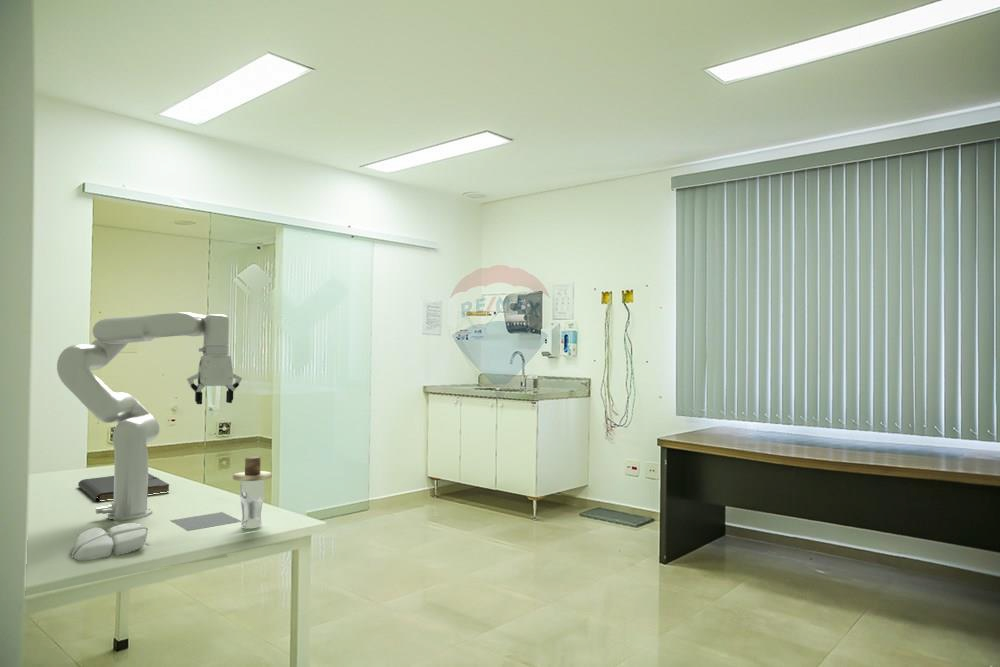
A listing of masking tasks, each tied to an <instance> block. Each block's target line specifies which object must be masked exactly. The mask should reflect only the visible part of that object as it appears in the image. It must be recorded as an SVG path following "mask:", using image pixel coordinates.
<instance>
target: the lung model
mask: <svg viewBox="0 0 1000 667" xmlns="http://www.w3.org/2000/svg"><path fill="white" fill-rule="evenodd" d="M148 530H149V529H148V527H146V526H145V525H143V524H140V523H134V522H129V523H122V524H118V525H115V526H112V527H111V528H110V529H109V532H107V531H105V530H104V528H101V527H100V526H99V527H98V526H95V527H93V528H89V529H86V530H84V531H83V532H82V533H80V534H79V535H77V538H76V540H75V543H74V546H73V548H72V553H71V556H73V557H72V558H74V559H75V560H76V559H77V561H81V560H83V561H90V560H91V561H92V560H98V559H103V557H104V558H109V557H110V556H111V555H112V553H114V555H116V554H120V555H123V554H122V553H125V554H128V553H127V552H130V553H133V552H135V551H137V550H139V549H140V548H142V547H143V546H144V545H145V544H146V542H147V538H148V534H149V533H148ZM132 551H133V552H132ZM108 556H109V557H108Z"/></svg>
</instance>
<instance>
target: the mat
mask: <svg viewBox="0 0 1000 667" xmlns="http://www.w3.org/2000/svg"><path fill="white" fill-rule="evenodd" d="M170 522H172V523H174V524H175V525H176V526H179V527H180V528H182V529H184V530H186V531H187V532H191V531H196V530H201V529H207V528H212V527H218V526H224V525H229V524H230V525H231V524H236V523H242V520H239V519H238V518H235V517H233V516H232V515H229V514H227V513H225V512H224V511H223V512H222V511H221V512H215V513H207V514H201V515H196V516H191V517H189V516H188V517H183V518H178V519H177V518H175V519H171V520H170Z"/></svg>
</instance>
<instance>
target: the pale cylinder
mask: <svg viewBox="0 0 1000 667" xmlns="http://www.w3.org/2000/svg"><path fill="white" fill-rule="evenodd" d="M239 488H240V489H239V499H240V506H241V511H242V512H241V515H242V518H241V521H242V522H240V523H241V524H240V528H241V529H256V528H257V529H258V528H261V527H262V526H263V522H262V521H263V520H262V510H263V509H262V508H263V504H264V498H265V480H258V481H240V487H239Z"/></svg>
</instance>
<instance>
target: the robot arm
mask: <svg viewBox="0 0 1000 667" xmlns="http://www.w3.org/2000/svg"><path fill="white" fill-rule="evenodd" d="M229 321H230V319H229V316H228V315H225V314H220V313H219V314H217V313H215V314H212V313H211V314H207V315H205V314H204V315H203V314H198V313H193V312H186V311H184V312H182V311H181V312H169V313H159V314H158V313H157V314H145V315H135V316H134V315H131V316H120V317H119V316H118V317H109V318H103V319H100V320H98V321H97V322H95V324H94V325H93V328H92V336H93V337H94V339H95V340H93V341H92V342H91V343H90V344H87V343H86V344H84V343H83V344H81V343H79V344H72V345H70V346H68V347H66V348H64V349H63V350H62V351H61V352H60V354H59V356H58V358H57V363H56V370H57V371H56V372H57V375H58V377H59V379H60V381H61V382H62V383H63V385H64V386H65V387H66V388H67V389H68V390H69V391H70V392H71V393H72V394H73V395H74V396H75V397H76V398H77V399H78V400H79V401H80V402H81V404H83V405H84V407H86V409H87V410H89V412H91V414H92V415H93V416H94V417H95V418H96V419H97V420H99V421H100V422H101V423H115V422H116V423H117V424H116V426H115V428H114V429H113V433H112V443H113V444H112V445H113V449H114V450H113V452H114V453H113V454H114V466H113V467H114V474H113V476H114V500H113V502H111V501H110V504H108V505H107V506H100V507H99V506H98V507H96V508H95V513H96V514H95V515H99V514H103V515H104V514H105V515H106V514H107V515H106V516H107V517H108V518H109V519H108V518H107V519H108V520H110V519H113V520H112V521H125V520H126V521H128V520H127V519H129V520H136V519H141V518H146V517H148V516H151V515H152V514H153V509H151V508H149V507H148V496H147V495H148V473H149V451H148V446H147V445H148V443H151V442H153V441H154V440H155V439H156V438H157V437H158V436H159V433H160V424H159V421H158V420H157V419H156V418H155V416H154V415H152V413H150V411H149V410H148V409H147V408H146V407H145V406H144V405H142V403H141V402H140V401H138V399H137V398H136V397H134V396H133V395H131V394H129V393H127V392H123V391H122V392H121V391H119V392H115V391H113V390H112V389H111V388H110V387H109V386H108V385H107V384H106V383H105V382H104V381H103V380H102V379H101V378H100V377H98V376H97V375H96V374H94V373H93V372H92V371H96V370H100V369H102V368H104V367H106V366H107V365H108V364H109V363H110V362H111V361H112V360H113V359H114V358H115V357H116V356H117V355H118V354H119V353H120V352H121V351H122V350H123V349H124V348H126V346H127V345H128V344H130V343H142V342H143V343H144V342H151V341H152V340H155V339H158V338H169V337H183V336H184V337H185V336H187V337H202V336H203V343H202V344H203V346H202V347H199V348H198V352H199V353H202V355H200V359H199V364H198V370H197V373H195V374H193V375H192V376H189V377H187V378H186V381H187V383H188V385H189V387H190V388H191V389H192V390H193V391H194V394H195V395H194V401H195V402H196V404H197V405H203V391H202V390H203V389H204V388H205V387H221V386H223V387H225V388H226V389H227V390H226V399H225V402H226V403H228V404H232V403H233V400H234V392H235V391H236V389H237V388H238V387H239V386H240V383H241V381H242V379H243V378H242V377H240V376H238V375H237V374H235V373H234V372H233V371H234V369H233V363H232V362H233V361H232V356H231V355H229V332H230V331H229V329H230V327H229V326H230V322H229ZM195 380H197V385H196V383H195V382H194V381H195ZM234 380H235V381H234Z"/></svg>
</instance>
